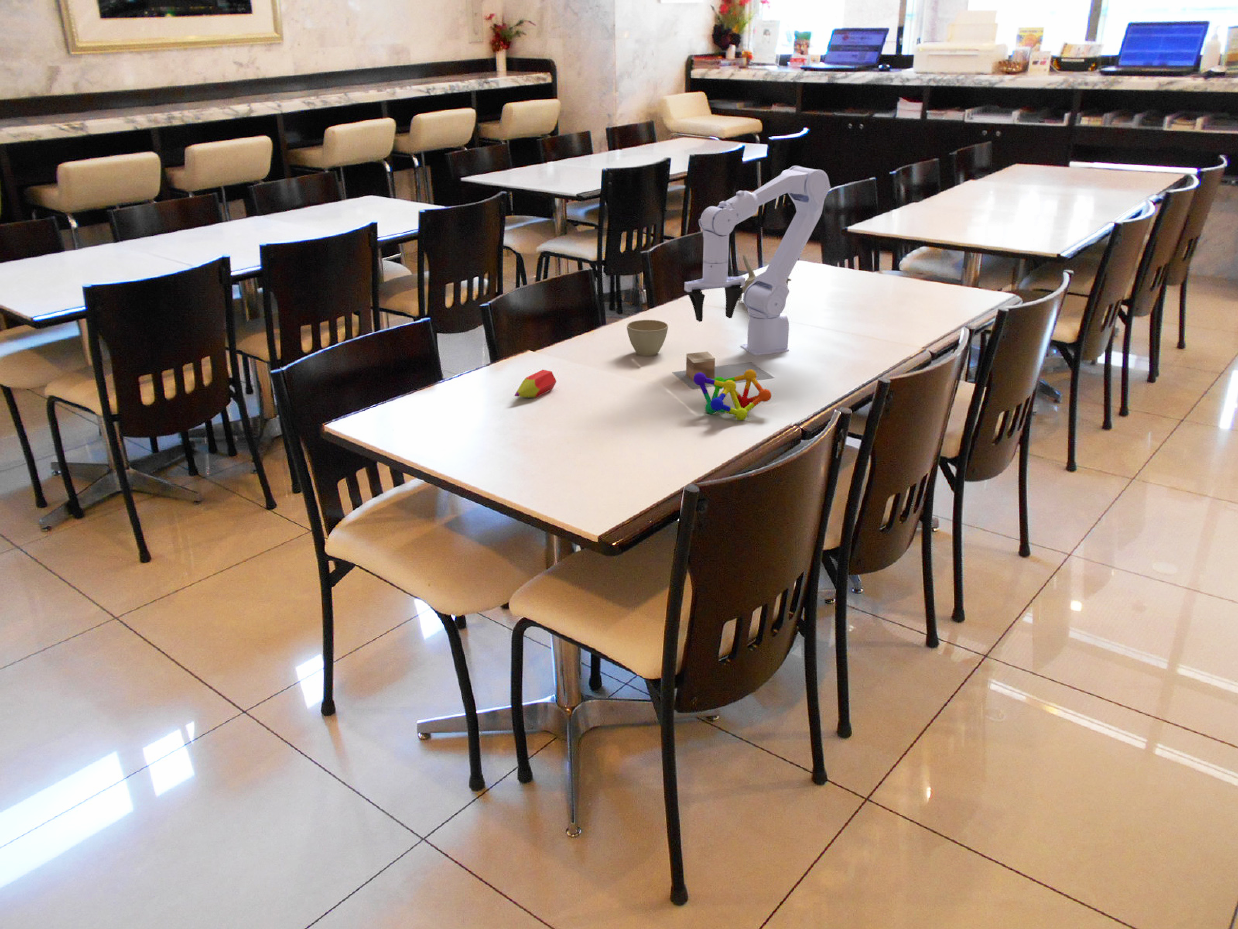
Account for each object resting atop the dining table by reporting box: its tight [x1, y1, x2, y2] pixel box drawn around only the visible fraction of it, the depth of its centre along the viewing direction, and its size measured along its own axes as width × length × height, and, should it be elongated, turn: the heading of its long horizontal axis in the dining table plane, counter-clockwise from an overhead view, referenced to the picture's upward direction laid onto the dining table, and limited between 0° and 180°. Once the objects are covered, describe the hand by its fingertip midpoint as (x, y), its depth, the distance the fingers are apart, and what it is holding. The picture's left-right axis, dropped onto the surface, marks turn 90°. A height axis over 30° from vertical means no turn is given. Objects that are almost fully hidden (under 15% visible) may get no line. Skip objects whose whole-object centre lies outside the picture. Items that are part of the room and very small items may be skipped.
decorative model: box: [694, 369, 772, 421], centre depth 192 cm, size 13×9×15 cm
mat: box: [672, 361, 775, 390], centre depth 213 cm, size 20×12×1 cm, turn 109°
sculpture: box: [739, 254, 792, 299], centre depth 260 cm, size 6×18×30 cm
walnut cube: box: [685, 351, 716, 382], centre depth 211 cm, size 5×5×5 cm
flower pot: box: [626, 319, 669, 357], centre depth 228 cm, size 10×10×7 cm
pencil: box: [514, 369, 557, 399], centre depth 203 cm, size 5×12×4 cm, turn 148°
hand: (714, 318), depth 220 cm, fingers open, 7 cm apart
